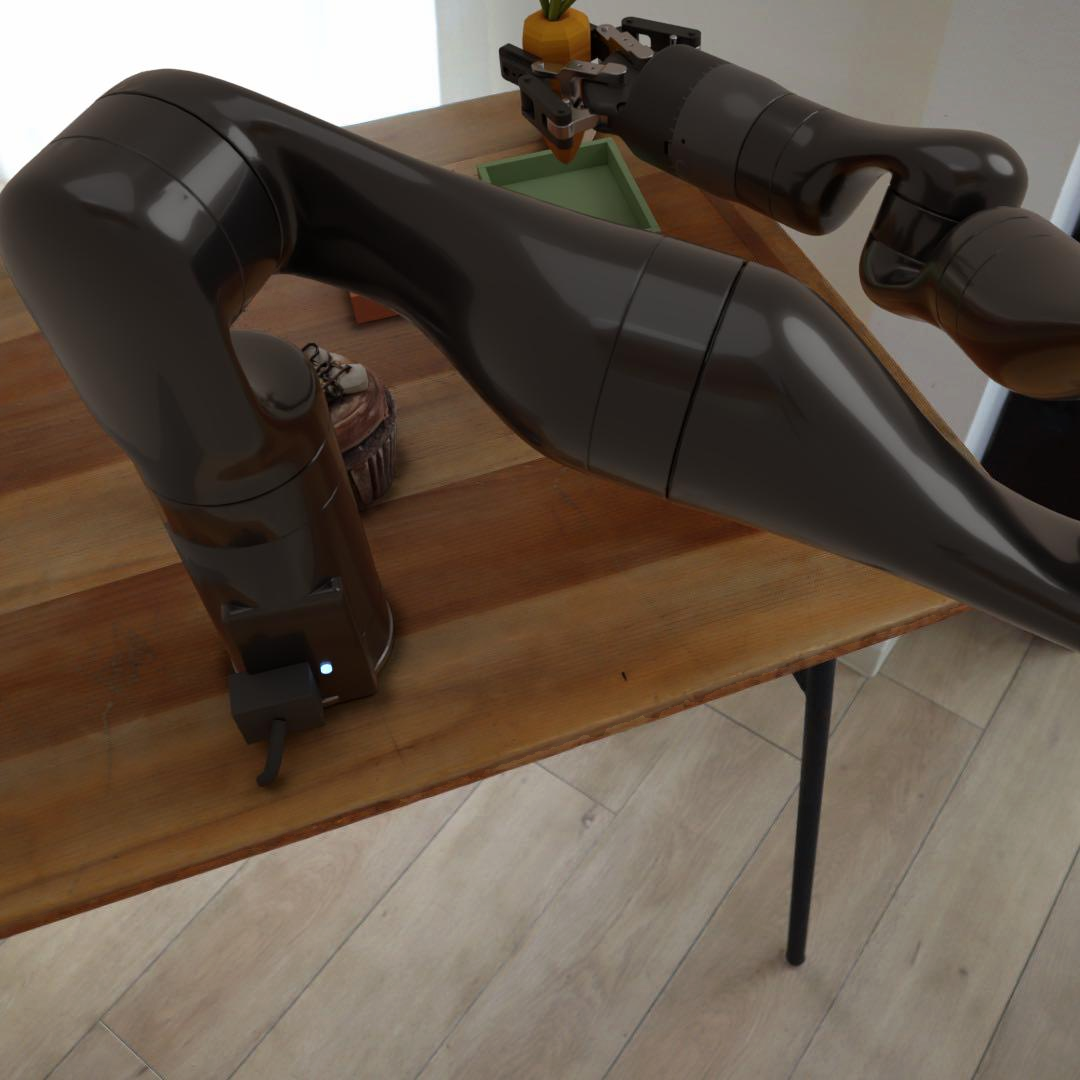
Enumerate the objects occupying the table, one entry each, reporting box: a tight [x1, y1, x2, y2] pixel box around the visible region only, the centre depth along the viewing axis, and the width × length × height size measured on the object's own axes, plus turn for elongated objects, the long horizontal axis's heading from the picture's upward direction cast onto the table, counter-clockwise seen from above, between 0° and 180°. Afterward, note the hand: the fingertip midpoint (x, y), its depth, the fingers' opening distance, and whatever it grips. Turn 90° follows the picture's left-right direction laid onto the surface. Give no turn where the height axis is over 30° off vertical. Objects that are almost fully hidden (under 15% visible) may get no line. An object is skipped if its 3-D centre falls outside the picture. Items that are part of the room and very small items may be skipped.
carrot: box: [521, 0, 592, 165], centre depth 82 cm, size 5×5×15 cm
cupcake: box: [299, 342, 398, 512], centre depth 73 cm, size 10×10×10 cm
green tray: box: [476, 136, 662, 234], centre depth 91 cm, size 13×11×2 cm
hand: (531, 43), depth 83 cm, fingers closed on carrot, 4 cm apart
